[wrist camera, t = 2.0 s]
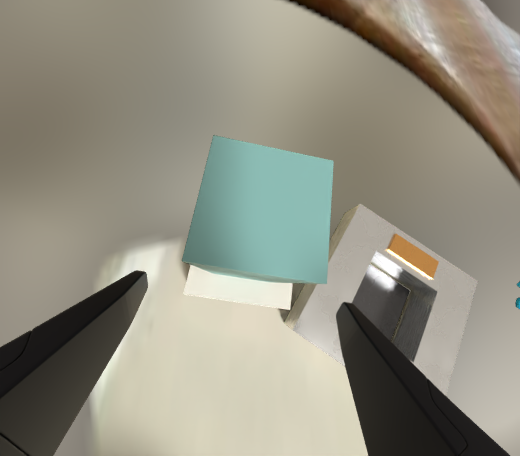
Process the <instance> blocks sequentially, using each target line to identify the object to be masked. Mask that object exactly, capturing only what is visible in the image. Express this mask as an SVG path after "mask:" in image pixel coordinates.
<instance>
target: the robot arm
mask: <svg viewBox="0 0 520 456" xmlns="http://www.w3.org/2000/svg"><path fill="white" fill-rule="evenodd" d="M147 288H148V282H147V274H146V272H144V271H134V272H132V273H130V274H128V275H127V276H125V277H123V278H121V279H120V280H118V281H116V282H114V283H112V284H111V285H109V286H107V287H105V288H104V289H102V290H100V291H98V292H97V293H95V294H93V295H91V296H90V297H88V298H86V299H85V300H83V301H81V302H79V303H78V304H76V305H74V306H72V307H70V308H69V309H67V310H65V311H63V312H62V313H60V314H58V315H56V316H55V317H53V318H51V319H49V320H48V321H46V322H44V323H42V324H41V325H39V326H37V327H35V328H34V329H33V330H32V331H28V332H26V333H25V334H23V335H21V336H20V337H18V338H16V339H14V340H12V341H11V342H9V343H7V344H5V345H3V346H2V347H0V456H53V455H54V453H55V452H56V450H57V448H58V447H59V445H60V443H61V442H62V440H63V438H64V436H65V435H66V433H67V431H68V430H69V428H70V426H71V425H72V423H73V421H74V420H75V418H76V416H77V415H78V413H79V411H80V410H81V408H82V406H83V405H84V403H85V401H86V400H87V398H88V396H89V394H90V393H91V391H92V389H93V388H94V386H95V384H96V383H97V381H98V379H99V378H100V376H101V374H102V373H103V371H104V369H105V368H106V366H107V364H108V362H109V361H110V359H111V357H112V356H113V354H114V352H115V351H116V349H117V347H118V346H119V344H120V342H121V341H122V339H123V337H124V336H125V334H126V332H127V330H128V329H129V327H130V325H131V323H132V321H133V319H134V317H135V315H136V313H137V311H138V308H139V306H140V304H141V302H142V300H143V297H144V295H145V293H146V291H147ZM336 321H337V328H338V334H339V340H340V346H341V352H342V356H343V360H344V364H345V367H346V371H347V375H348V379H349V383H350V387H351V390H352V394H353V398H354V402H355V406H356V410H357V414H358V417H359V421H360V425H361V429H362V433H363V437H364V440H365V444H366V448H367V452H368V456H510V455H509V454H508V453H507V452H506V451H505V450H503V448H501V447H500V446H499V445H498V444H497V443H496V442H495V441H494V440H493V439H491V438H490V437H489V436H488V435H487V434H486V433H485V432H484V431H483V430H482V429H480V428H479V427H478V426H477V425H476V424H475V423H474V422H473V421H472V420H471V419H470V418H469V417H467V416H466V415H465V414H464V413H463V412H462V411H461V410H460V409H459V408H458V407H457V406H456V405H455V404H453V403H452V402H451V401H450V400H449V399H448V398H447V397H446V396H445V395H444V394H443V393H442V392H441V391H440V390H439V389H438V388H437V387H436V386H435V385H434V384H433V383H432V382H431V381H430V380H429V379H428V378H426V376H425V375H424V374H423V373H422V372H421V371H420V370H419V369H418V368H417V367H416V366H415V365H414V364H413V363H412V362H411V361H410V360H409V359H408V358H407V357H406V356H405V355H404V354H403V353H402V352H401V351H400V350H399V349H398V348H397V347H396V346H395V345H394V344H393V343H392V342H391V341H390V340H389V339H388V338H387V337H386V336H385V335H384V334H383V333H382V332H381V331H380V330H379V329H378V328H377V327H376V326H375V325H374V324H373V323H372V322H371V321H370V320H369V319H368V318H367V317H366V316H365V315H364V314H363V313H362V312H361V311H360V310H359V309H358V308H357V307H356V306H355V305H354V304H353V303H349V302H343V303H342V304H341V306H340V307H339V309H338V311H337V313H336Z"/></svg>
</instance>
